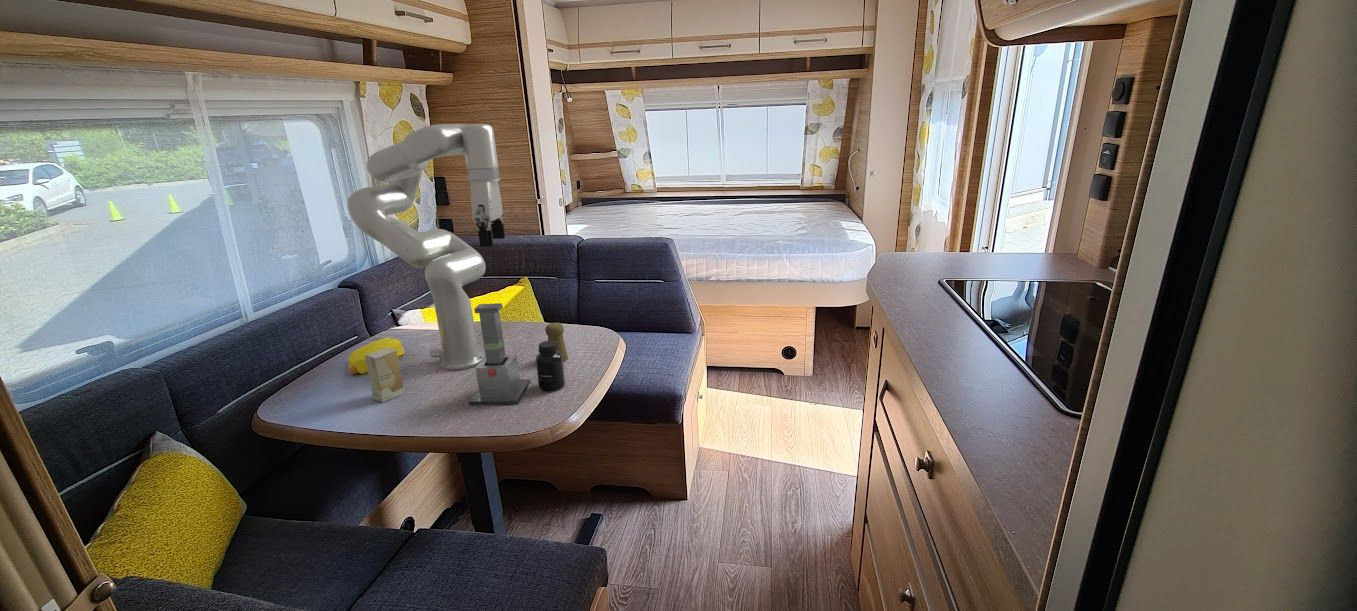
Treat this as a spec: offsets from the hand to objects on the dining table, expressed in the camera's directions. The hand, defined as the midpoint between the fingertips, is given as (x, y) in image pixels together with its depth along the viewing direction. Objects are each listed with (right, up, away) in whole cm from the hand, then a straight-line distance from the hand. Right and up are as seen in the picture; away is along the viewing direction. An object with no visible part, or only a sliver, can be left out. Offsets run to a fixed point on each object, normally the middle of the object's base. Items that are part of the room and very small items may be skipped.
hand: (493, 242), depth 149 cm
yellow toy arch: (-39, -34, +18) cm, 55 cm away
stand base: (+3, -39, -3) cm, 39 cm away
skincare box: (-26, -40, -2) cm, 48 cm away
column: (+3, -32, -5) cm, 33 cm away
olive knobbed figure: (+13, -32, +17) cm, 39 cm away
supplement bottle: (+15, -38, 0) cm, 41 cm away
